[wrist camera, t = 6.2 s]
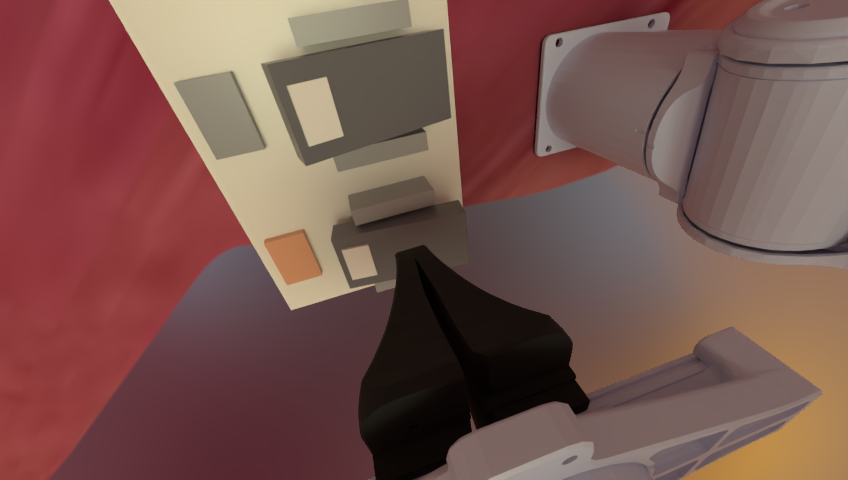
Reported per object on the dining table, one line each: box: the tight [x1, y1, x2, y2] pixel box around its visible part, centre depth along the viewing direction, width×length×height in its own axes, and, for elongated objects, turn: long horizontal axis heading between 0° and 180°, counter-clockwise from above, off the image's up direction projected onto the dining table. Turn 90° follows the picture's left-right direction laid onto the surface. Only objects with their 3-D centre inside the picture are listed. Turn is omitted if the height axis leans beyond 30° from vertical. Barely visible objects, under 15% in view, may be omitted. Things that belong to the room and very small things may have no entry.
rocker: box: [331, 200, 469, 289], centre depth 20 cm, size 8×4×2 cm, turn 98°
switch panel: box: [109, 0, 463, 310], centre depth 16 cm, size 14×27×5 cm, turn 8°
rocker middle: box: [261, 29, 451, 166], centre depth 15 cm, size 8×4×2 cm, turn 98°
